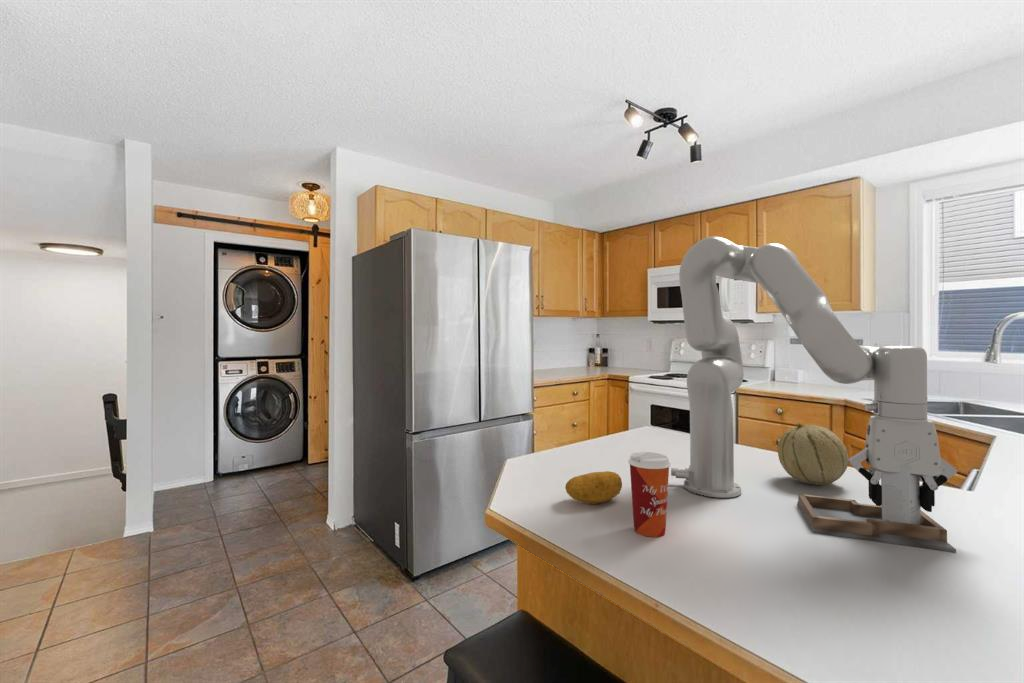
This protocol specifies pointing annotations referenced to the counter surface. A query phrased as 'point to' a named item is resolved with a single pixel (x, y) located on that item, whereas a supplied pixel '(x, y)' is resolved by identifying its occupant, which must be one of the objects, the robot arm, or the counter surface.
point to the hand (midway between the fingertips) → (900, 505)
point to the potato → (594, 487)
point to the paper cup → (649, 492)
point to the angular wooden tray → (869, 523)
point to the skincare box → (901, 497)
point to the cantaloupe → (812, 454)
